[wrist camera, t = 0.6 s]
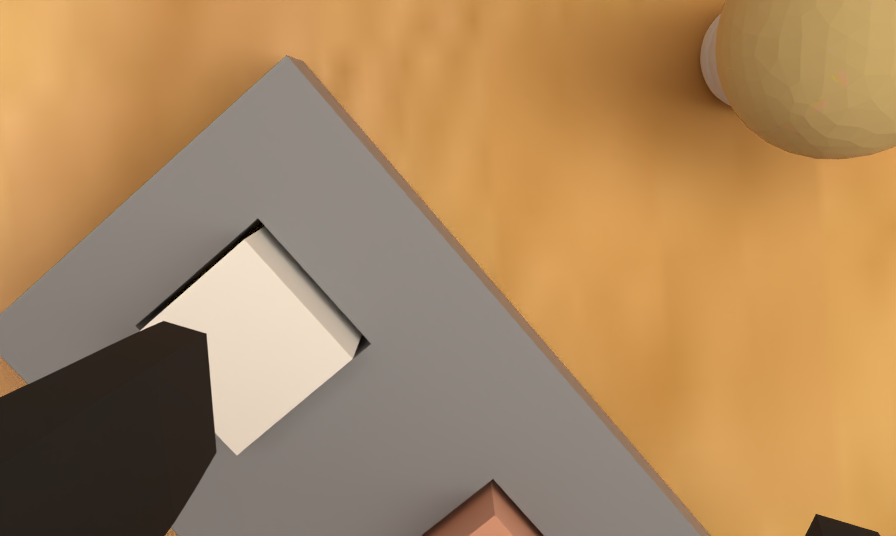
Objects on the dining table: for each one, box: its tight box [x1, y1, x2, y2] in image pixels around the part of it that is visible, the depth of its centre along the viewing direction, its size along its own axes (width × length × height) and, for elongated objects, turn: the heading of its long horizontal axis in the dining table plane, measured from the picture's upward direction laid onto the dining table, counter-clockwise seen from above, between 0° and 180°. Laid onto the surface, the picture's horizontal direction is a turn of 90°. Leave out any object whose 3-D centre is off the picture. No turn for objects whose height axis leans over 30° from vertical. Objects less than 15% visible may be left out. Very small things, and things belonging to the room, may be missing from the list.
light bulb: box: [700, 0, 896, 159], centre depth 24 cm, size 6×6×10 cm
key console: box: [0, 55, 710, 536], centre depth 30 cm, size 14×24×3 cm, turn 40°
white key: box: [140, 226, 362, 455], centre depth 27 cm, size 5×5×3 cm
